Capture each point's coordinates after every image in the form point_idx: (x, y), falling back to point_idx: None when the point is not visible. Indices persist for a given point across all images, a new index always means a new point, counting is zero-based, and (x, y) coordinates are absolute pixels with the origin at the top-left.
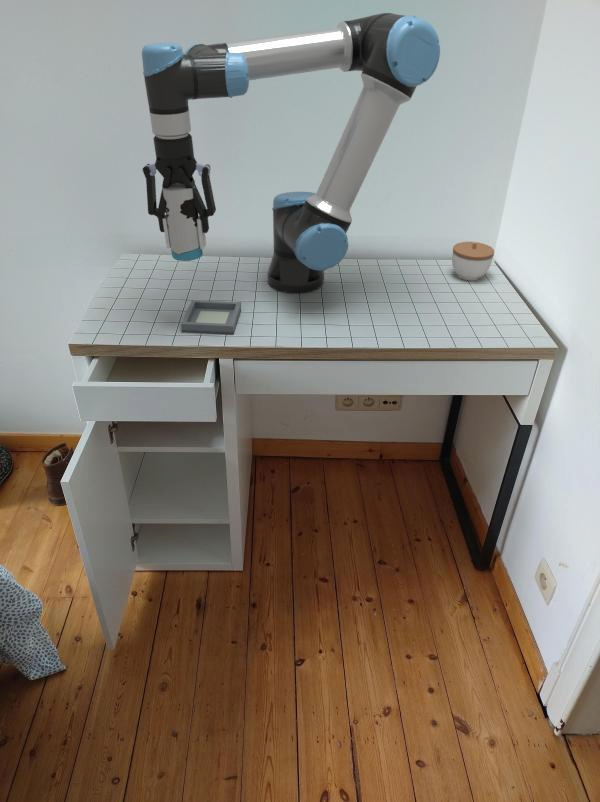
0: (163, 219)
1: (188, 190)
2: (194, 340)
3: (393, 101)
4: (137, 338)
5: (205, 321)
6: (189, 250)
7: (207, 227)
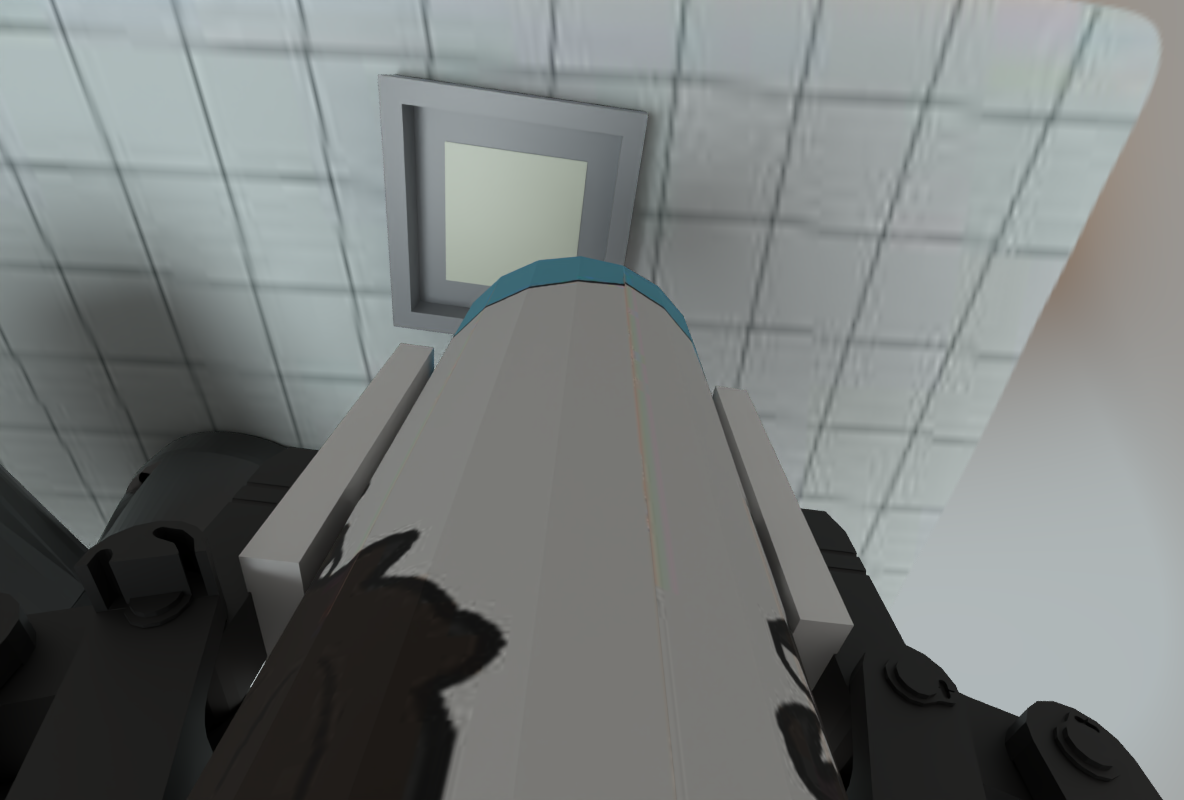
0: (836, 616)
1: None
2: (578, 17)
3: None
4: (863, 53)
5: (539, 194)
6: (521, 292)
7: (245, 493)
